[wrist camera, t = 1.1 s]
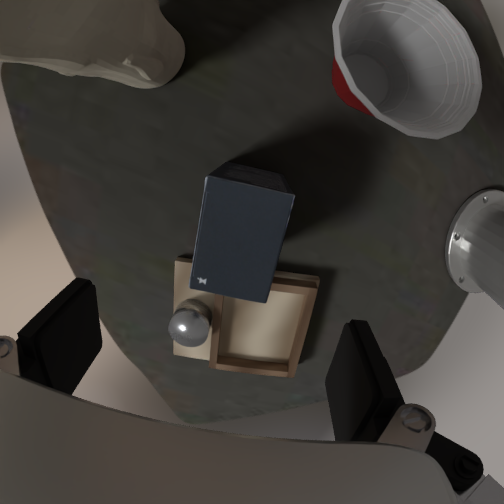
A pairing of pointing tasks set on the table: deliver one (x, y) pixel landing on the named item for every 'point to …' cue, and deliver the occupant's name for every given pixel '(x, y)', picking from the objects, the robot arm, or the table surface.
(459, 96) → the plastic cup
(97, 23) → the vase
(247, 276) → the box
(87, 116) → the table surface
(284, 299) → the plate
